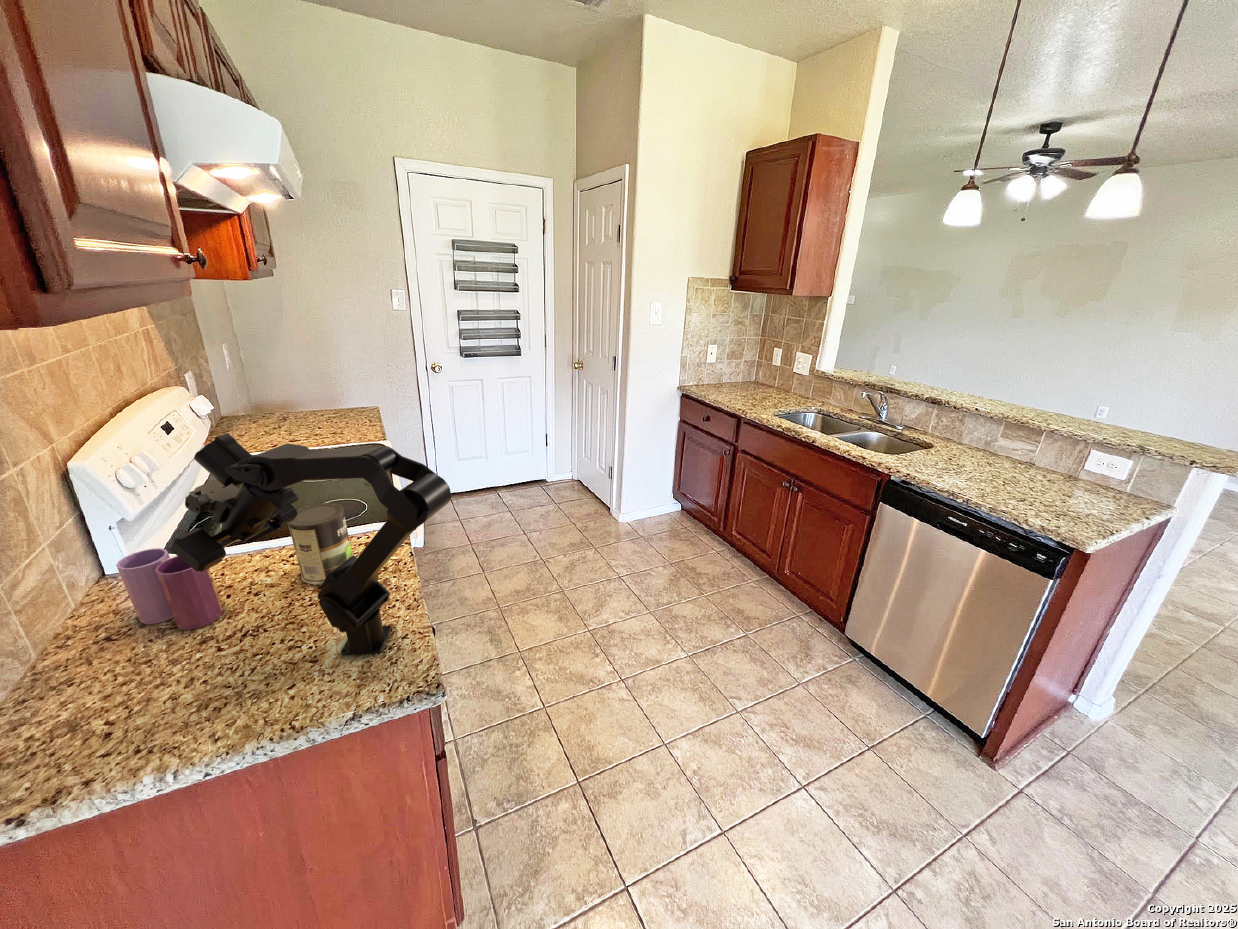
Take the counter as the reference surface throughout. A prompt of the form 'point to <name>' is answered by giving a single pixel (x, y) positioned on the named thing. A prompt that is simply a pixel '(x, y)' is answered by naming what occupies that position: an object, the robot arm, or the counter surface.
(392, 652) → the counter surface
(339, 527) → the coffee can
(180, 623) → the plum cup
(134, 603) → the lavender cup
